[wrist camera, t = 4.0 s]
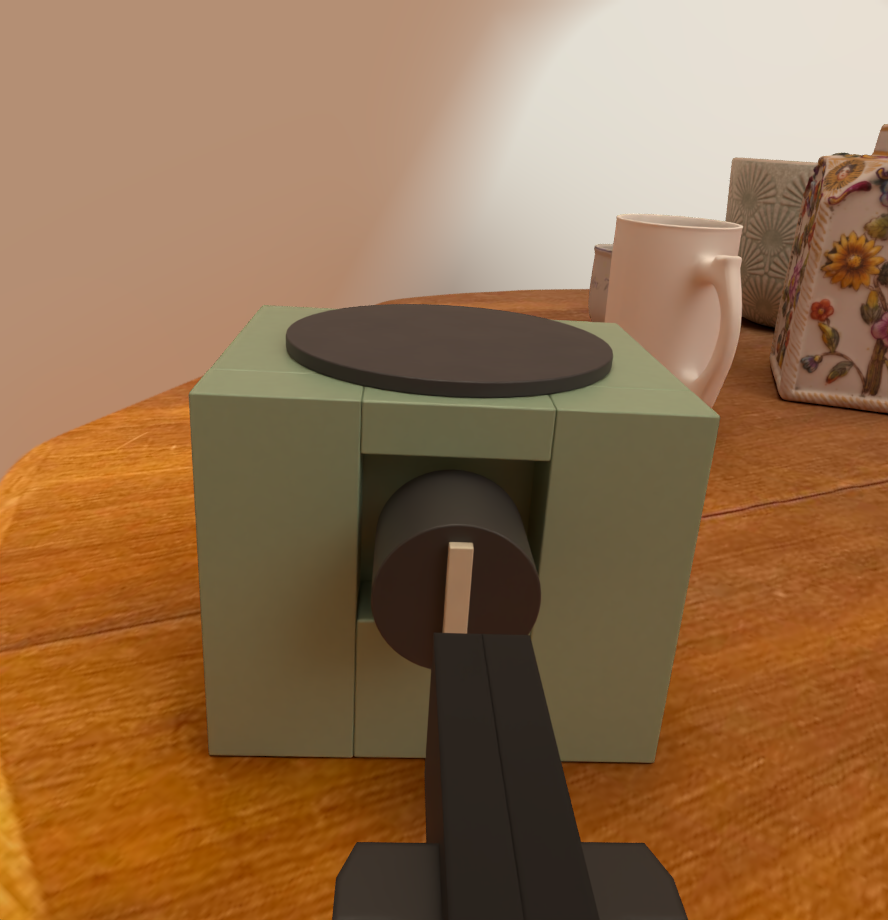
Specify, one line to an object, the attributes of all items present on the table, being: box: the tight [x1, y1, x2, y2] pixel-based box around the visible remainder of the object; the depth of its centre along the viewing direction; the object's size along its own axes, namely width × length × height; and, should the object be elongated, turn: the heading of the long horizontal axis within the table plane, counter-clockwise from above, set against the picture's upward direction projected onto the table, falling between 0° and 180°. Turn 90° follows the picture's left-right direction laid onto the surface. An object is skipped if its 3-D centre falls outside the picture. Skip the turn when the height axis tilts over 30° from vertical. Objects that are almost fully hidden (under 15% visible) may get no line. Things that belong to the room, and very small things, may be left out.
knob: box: [371, 469, 541, 669], centre depth 19 cm, size 4×3×4 cm
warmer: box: [189, 304, 720, 763], centre depth 25 cm, size 12×10×10 cm
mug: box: [605, 214, 743, 408], centre depth 46 cm, size 10×7×12 cm, turn 16°
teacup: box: [589, 244, 613, 323], centre depth 67 cm, size 14×11×8 cm
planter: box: [726, 158, 818, 328], centre depth 80 cm, size 17×17×15 cm
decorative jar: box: [770, 124, 888, 413], centre depth 57 cm, size 12×12×18 cm
